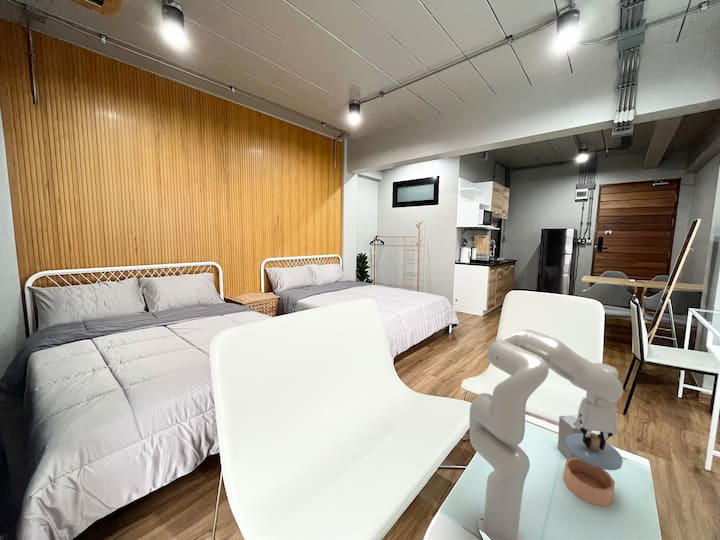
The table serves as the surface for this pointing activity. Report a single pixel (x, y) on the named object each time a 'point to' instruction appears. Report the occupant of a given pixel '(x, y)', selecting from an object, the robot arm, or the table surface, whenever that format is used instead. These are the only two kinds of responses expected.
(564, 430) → the skincare box
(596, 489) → the bowl
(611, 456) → the lid
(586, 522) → the table surface
